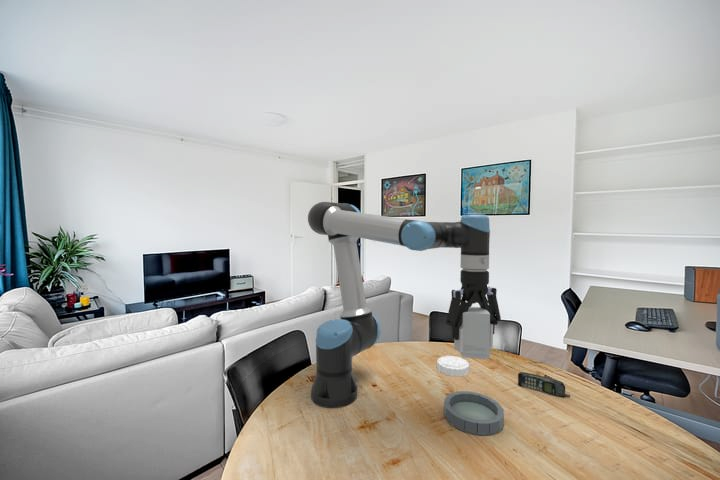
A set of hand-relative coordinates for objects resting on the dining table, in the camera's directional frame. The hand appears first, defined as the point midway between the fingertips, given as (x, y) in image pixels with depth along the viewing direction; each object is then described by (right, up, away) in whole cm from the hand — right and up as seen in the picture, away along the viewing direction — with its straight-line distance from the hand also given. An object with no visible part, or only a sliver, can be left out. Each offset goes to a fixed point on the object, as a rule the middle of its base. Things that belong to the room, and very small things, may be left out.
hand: (473, 348), depth 87 cm
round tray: (0, -21, +2) cm, 21 cm away
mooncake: (+4, -20, +32) cm, 38 cm away
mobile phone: (+29, -21, +16) cm, 39 cm away
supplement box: (0, -2, 0) cm, 2 cm away
